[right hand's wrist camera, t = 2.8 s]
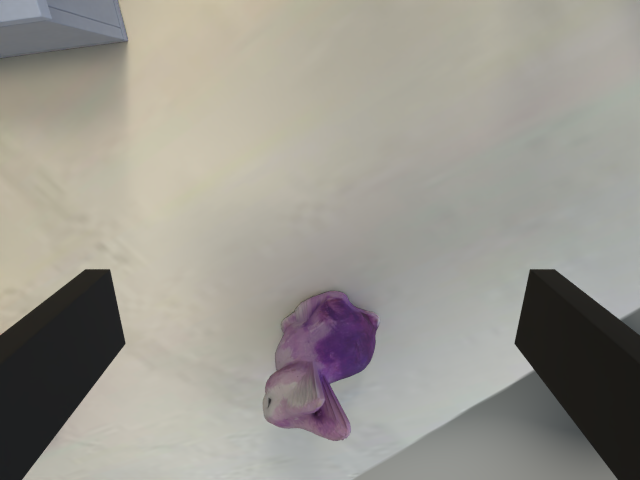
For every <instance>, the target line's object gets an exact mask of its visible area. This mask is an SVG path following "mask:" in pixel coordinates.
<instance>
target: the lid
mask: <svg viewBox="0 0 640 480" xmlns="http://www.w3.org/2000/svg"><path fill="white" fill-rule="evenodd" d="M51 19H52V17H51V14H50V10H49V7H48V4H47V1H46V0H0V27H1V26H8V25H16V24H23V23H30V22H37V21H45V20H51Z"/></svg>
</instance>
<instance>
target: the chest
mask: <svg viewBox="0 0 640 480" xmlns="http://www.w3.org/2000/svg"><path fill="white" fill-rule="evenodd" d="M46 1H47V4H48V7H49V10H50V14H51V17H52V19H51V20H45V21H37V22H30V23H23V24H16V25H8V26H1V27H0V58H5V57H12V56H20V55H27V54H35V53H42V52H50V51H57V50H65V49H72V48H79V47H87V46H94V45H102V44H109V43H117V42H124V41H128V38H127V34H126V30H125V27H124V23H123V19H122V15H121V11H120V7H119V4H118V0H46Z"/></svg>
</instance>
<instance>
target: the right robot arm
mask: <svg viewBox="0 0 640 480" xmlns="http://www.w3.org/2000/svg"><path fill="white" fill-rule="evenodd" d="M124 345H125V339H124V334H123V329H122V325H121V320H120V315H119V310H118V305H117V301H116V296H115V291H114V286H113V281H112V277H111V272H110V269H85V270H84V271H83V272H82V273H80V274H79V275H78V276H76V277H75V278H74V279H72V280H71V281H70V282H69V283H67V284H66V285H65V286H63V287H62V288H61V289H60V290H58V291H57V292H56V293H54V294H53V295H52V296H51V297H49V298H48V299H47V300H45V301H44V302H43V303H41V304H40V305H39V306H38V307H36V308H35V309H34V310H32V311H31V312H30V313H29V314H27V315H26V316H25V317H23V318H22V319H21V320H20V321H18V322H17V323H16V324H14V325H13V326H12V327H10V328H9V329H8V330H7V331H5V332H4V333H3V334H1V335H0V480H22V479H23V478H24V476H25V475H26V474H27V472H28V471H29V470H30V468H31V467H32V466H33V464H34V463H35V462H36V461H37V459H38V458H39V457H40V455H41V454H42V453H43V451H44V450H45V449H46V447H47V446H48V445H49V443H50V442H51V441H52V440H53V438H54V437H55V436H56V434H57V433H58V432H59V430H60V429H61V428H62V426H63V425H64V424H65V422H66V421H67V420H68V418H69V417H70V416H71V415H72V413H73V412H74V411H75V409H76V408H77V407H78V405H79V404H80V403H81V401H82V400H83V399H84V397H85V396H86V395H87V393H88V392H89V391H90V390H91V388H92V387H93V386H94V384H95V383H96V382H97V380H98V379H99V378H100V376H101V375H102V374H103V372H104V371H105V370H106V369H107V367H108V366H109V365H110V363H111V362H112V361H113V359H114V358H115V357H116V355H117V354H118V353H119V351H120V350H121V349H122V347H123V346H124ZM515 345H516V346H517V347H518V349H519V350H520V351H521V353H522V354H523V355H524V357H525V358H526V359H527V361H528V362H529V363H530V365H531V366H532V367H533V369H534V370H535V371H536V372H537V374H538V375H539V376H540V378H541V379H542V380H543V382H544V383H545V384H546V386H547V387H548V388H549V389H550V391H551V392H552V393H553V395H554V396H555V397H556V399H557V400H558V401H559V403H560V404H561V405H562V407H563V408H564V409H565V410H566V412H567V413H568V415H569V416H570V417H571V418H572V420H573V421H574V422H575V424H576V425H577V426H578V428H579V429H580V430H581V432H582V433H583V434H584V435H585V437H586V438H587V440H588V441H589V442H590V443H591V445H592V446H593V447H594V449H595V450H596V451H597V453H598V454H599V455H600V457H601V458H602V459H603V461H604V462H605V463H606V464H607V466H608V467H609V468H610V470H611V471H612V472H613V474H614V475H615V476H616V478H617V479H618V480H640V335H639V334H637V333H636V332H635V331H633V330H632V329H631V328H629V327H628V326H627V325H626V324H624V323H623V322H622V321H620V320H619V319H618V318H617V317H615V316H614V315H613V314H611V313H610V312H609V311H608V310H606V309H605V308H604V307H602V306H601V305H600V304H599V303H597V302H596V301H595V300H593V299H592V298H591V297H589V296H588V295H587V294H586V293H584V292H583V291H582V290H580V289H579V288H578V287H577V286H575V285H574V284H573V283H571V282H570V281H569V280H568V279H566V278H565V277H564V276H562V275H561V274H560V273H558V272H557V271H556V270H555V269H530V272H529V277H528V281H527V286H526V291H525V296H524V301H523V305H522V310H521V315H520V320H519V325H518V329H517V334H516V339H515Z"/></svg>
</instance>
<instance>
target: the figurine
mask: <svg viewBox="0 0 640 480" xmlns="http://www.w3.org/2000/svg"><path fill="white" fill-rule="evenodd" d="M379 324H380V318H379V316H378V315H377V314H375V313H374V312H370V311H366V310H363V309H359V308H357V307H355V306H353V305H352V304H351V302H350V301H349V299H348V297H347V295H345V294H344V293H342V292H339V291H328V292H325V293H322V294H320V295H317V296H314V297H311V298H309V299H307V300H305V301H304V302H301V303H300V305H299V306H298V307H297V308H296V309H295V312H294V313H292V314H291V315H289V316H288V317H286V318H285V319H284V320H283V321H282V323H281V329H282V331H283V333H284V335H283V337H282V339H281V341H280V343H279V345H278V347H277V350H276V353H275V363H276V370H277V371H276V372H275V373H274V374H272V375H271V376H270V378H269V379H268V381H267V383H266V387H265V392H266V394H265V396H264V399H263V411H264V416H265V419H266V420H267V421H268V422H270V423H272V424H274V425H276V426H278V427H281V428H301V429H305V430H307V431H310V432H313V433H314V434H316V435H318V436H321V437H324V438H327V439H329V440H333V441H338V440H344V439H345V438H347V437H348V436H349V434H350V432H351V427H350V422H349V420H348V418H347V416H346V414H345V413H344V411H343V409H342V407H341V405H340V403H339V401H338V399H337V397H336V396H335V394H334V392H333V390H332V388H331V386H330V383H333V382H335V381H338V380H341V379H344V378H347V377H350V376H352V375H354V374H356V373H359V372H361V371H362V370H364V369H365V368H366V366H367V365H368V364H369V362H370V361H371V358H372V356H373V353H374V349H375V343H376V342H375V334H376V331H377V328H378V326H379Z"/></svg>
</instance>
